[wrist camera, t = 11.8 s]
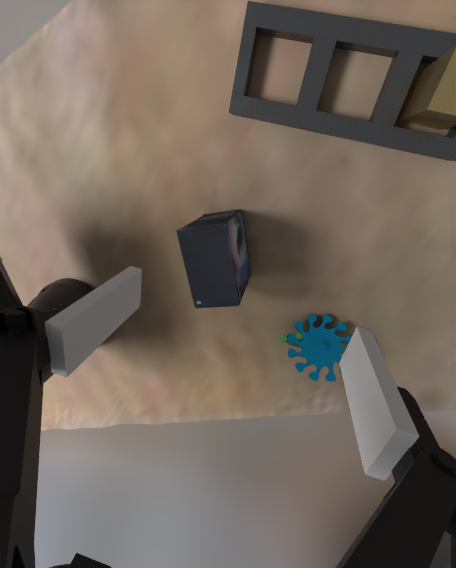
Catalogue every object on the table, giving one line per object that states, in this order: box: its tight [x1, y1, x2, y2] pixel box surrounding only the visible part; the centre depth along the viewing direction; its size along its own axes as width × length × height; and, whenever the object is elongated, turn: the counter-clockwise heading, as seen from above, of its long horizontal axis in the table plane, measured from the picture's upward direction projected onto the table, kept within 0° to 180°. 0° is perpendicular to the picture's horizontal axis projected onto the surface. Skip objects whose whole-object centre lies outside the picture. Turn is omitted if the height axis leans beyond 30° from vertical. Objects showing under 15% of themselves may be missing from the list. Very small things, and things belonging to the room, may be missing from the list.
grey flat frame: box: [229, 1, 456, 161], centre depth 30 cm, size 26×10×2 cm, turn 78°
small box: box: [177, 210, 251, 308], centre depth 37 cm, size 11×6×10 cm, turn 10°
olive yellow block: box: [398, 46, 456, 130], centre depth 26 cm, size 4×4×8 cm
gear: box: [280, 315, 352, 381], centre depth 43 cm, size 11×6×10 cm
